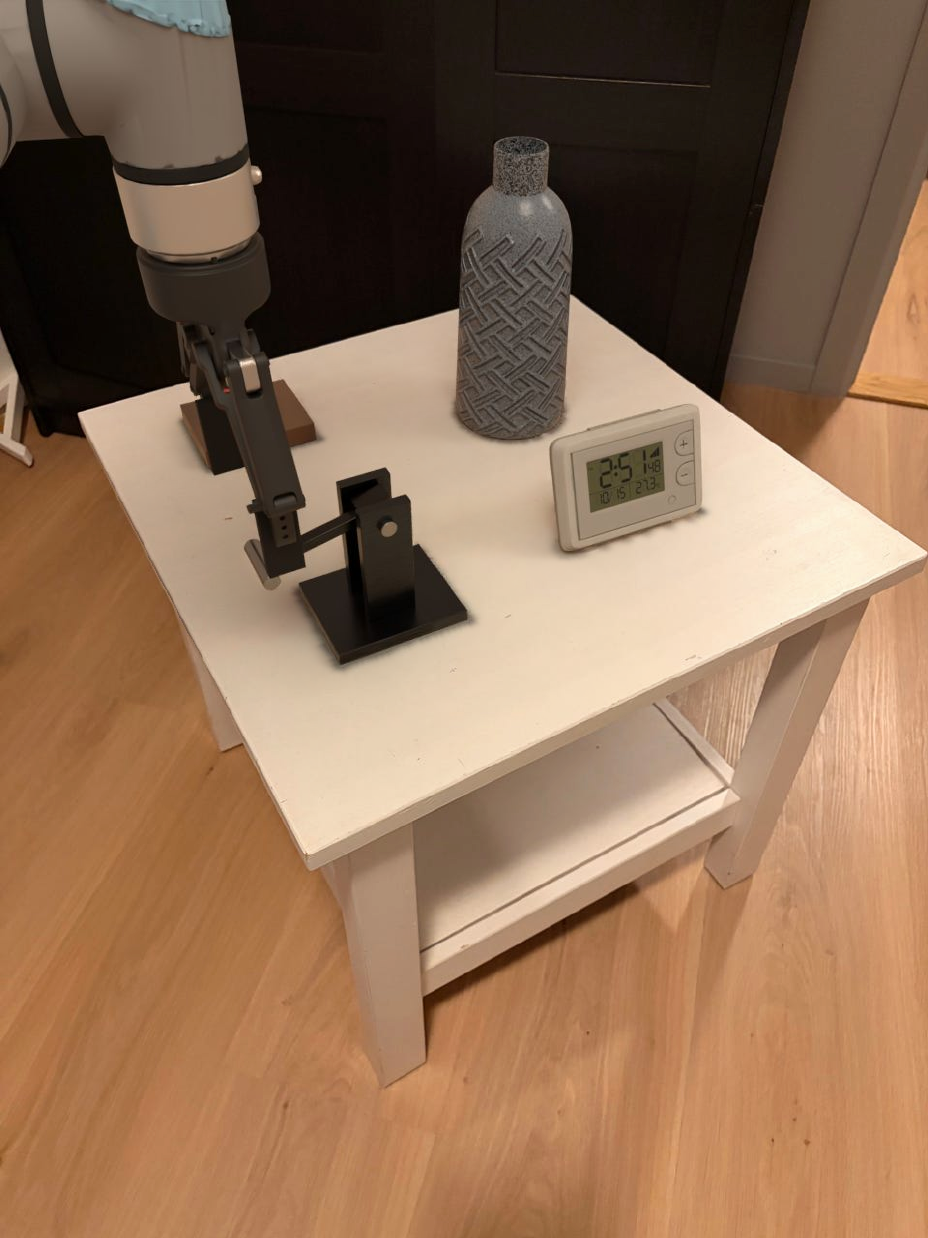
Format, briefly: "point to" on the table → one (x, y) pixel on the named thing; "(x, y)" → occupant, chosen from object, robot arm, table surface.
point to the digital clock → (626, 476)
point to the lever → (316, 533)
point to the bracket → (379, 579)
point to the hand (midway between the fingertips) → (256, 516)
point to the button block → (291, 412)
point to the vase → (514, 298)
